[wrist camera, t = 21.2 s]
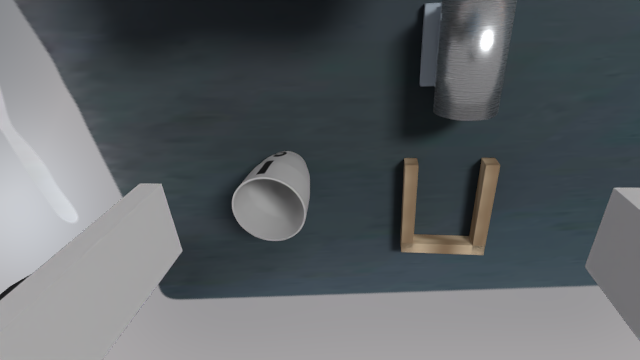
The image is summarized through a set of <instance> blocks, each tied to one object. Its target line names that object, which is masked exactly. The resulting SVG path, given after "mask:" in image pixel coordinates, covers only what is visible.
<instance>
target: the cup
mask: <svg viewBox="0 0 640 360" xmlns="http://www.w3.org/2000/svg"><path fill="white" fill-rule="evenodd" d="M309 198H310V176H309V172H308V169H307V166H306V163H305V161H304V160H303V158H302V157H301V156H299V155H298V154H296V153H294V152H290V151H283V152H279V153H277V154H274V155H272V156H270V157H268V158H266V159H265V160H264V161H263V162H261V163H260V164H259V165H258V166H257V167H255V168H254V169H253V170H252V171H251V172H250V174H249V175H248V176H247V177H246V178H245V180H244V181H243V182H242V183H241V184H240V186H239V187H238V188H237V189H236V191H235V193H234V195H233V198H232V210H233V213H234V216H235V218H236V220H237V221H238V223H239V224H240V225H241V226H242V227H243V228H244V229H245V230H246V231H247V232H249V233H250V234H252V235H253V236H255V237H258V238H261V239H264V240H269V241H280V240H285V239H288V238H291V237H292V236H294V235H296V234H297V233H298V232H299V231H300V230H301V228H302V227H303V225H304V223H305V219H306V214H307V209H308V203H309Z"/></svg>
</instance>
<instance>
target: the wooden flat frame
mask: <svg viewBox="0 0 640 360" xmlns="http://www.w3.org/2000/svg"><path fill="white" fill-rule="evenodd" d="M499 169H500V164H499V163H498V162H497V160H496V159H495V158H482V159H481V166H480V172H479V178H478V184H477V191H476V197H475V203H474V209H473V216H472V222H471V228H470V234H469V236H451V235H417V234H414V223H415V208H416V194H417V179H418V161H417V158H404V173H403V194H402V215H401V236H400V246H401V252H415V253H442V254H470V255H483V254H484V249H485V243H486V238H487V233H488V227H489V222H490V217H491V211H492V206H493V201H494V196H495V190H496V185H497V180H498V174H499Z"/></svg>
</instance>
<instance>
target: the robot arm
mask: <svg viewBox="0 0 640 360" xmlns="http://www.w3.org/2000/svg"><path fill="white" fill-rule="evenodd" d="M181 252H182V248H181V245H180V241H179V238H178V235H177V232H176V229H175V226H174V222H173V219H172V216H171V213H170V210H169V206H168V203H167V200H166V197H165V194H164V191H163V187H162V184H139V185H138V186H136V187H135V188H134V189H133V190H132V191H130V192H129V193H128V194H127V195H126V196H124V197H123V198H122V199H121V200H120V201H118V202H117V203H116V204H115V205H114V206H112V207H111V208H110V209H109V210H108V211H106V212H105V213H104V214H103V215H102V216H101V217H99V218H98V219H97V220H96V221H95V222H93V223H92V224H91V225H90V226H89V227H87V228H86V229H85V230H84V231H83V232H82V233H80V234H79V235H78V236H77V237H75V238H74V239H73V240H72V241H71V242H69V243H68V244H67V245H66V246H65V247H64V248H62V249H61V250H60V251H59V252H57V253H56V254H55V255H54V256H53V257H51V258H50V259H49V260H48V261H47V262H46V263H44V264H43V265H42V266H41V267H40V268H38V269H37V270H36V271H35V272H34V273H32V274H31V275H29V276H27V277H26V278H24V279H22V280H20V281H19V282H17V283H15V284H13V285H12V286H10V287H9V288H8V289H6V290H5V291H4V292H3V293H2V294H0V360H103V359H104V357H105V356H106V355H107V353H108V352H109V351H110V349H111V348H112V347H113V345H114V344H115V342H116V341H117V340H118V338H119V337H120V336H121V334H122V333H123V332H124V330H125V329H126V328H127V326H128V325H129V323H130V322H131V321H132V319H133V318H134V317H135V315H136V314H137V312H138V311H139V310H140V308H141V307H142V306H143V304H144V303H145V302H146V300H147V299H148V297H149V296H150V294H151V293H152V292H153V291H154V289H155V288H156V287H157V285H158V284H159V282H160V281H161V280H162V278H163V277H164V276H165V274H166V273H167V271H168V270H169V269H170V267H171V266H172V265H173V263H174V262H175V261H176V259H177V258H178V256H179V255H180V254H181ZM585 268H586V269H587V271H588V272H589V273H590V275H591V276H592V277H593V279H594V280H595V281H596V283H597V284H598V285H599V287H600V288H601V289H602V291H603V292H604V293H605V295H606V296H607V298H608V299H609V300H610V302H611V303H612V304H613V306H614V307H615V308H616V310H617V311H618V312H619V314H620V315H621V316H622V318H623V319H624V321H625V322H626V323H627V325H628V326H629V327H630V329H631V330H632V331H633V333H634V334H635V335H636V337H637V338H638V339H639V341H640V188H613V191H612V194H611V197H610V199H609V202H608V205H607V208H606V210H605V213H604V216H603V219H602V221H601V224H600V227H599V229H598V232H597V235H596V238H595V240H594V243H593V246H592V249H591V251H590V254H589V257H588V259H587V262H586V265H585Z"/></svg>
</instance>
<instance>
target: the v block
mask: <svg viewBox="0 0 640 360" xmlns="http://www.w3.org/2000/svg"><path fill="white" fill-rule="evenodd" d="M441 9H442V3H427V4H424V18H423V34H422V50H421V66H420V82H419V85H420V86H434V87H435V81H436V69H437V57H438V45H439V33H440V21H441Z"/></svg>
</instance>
